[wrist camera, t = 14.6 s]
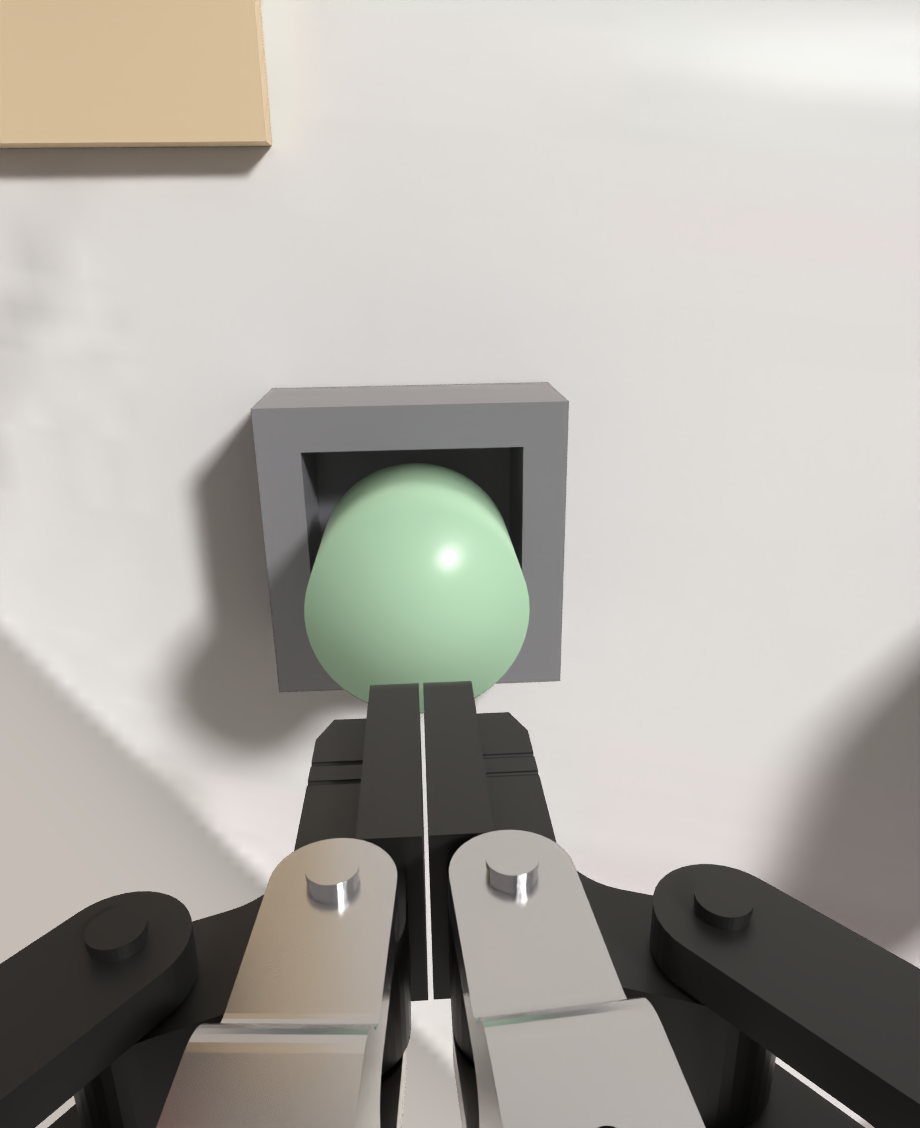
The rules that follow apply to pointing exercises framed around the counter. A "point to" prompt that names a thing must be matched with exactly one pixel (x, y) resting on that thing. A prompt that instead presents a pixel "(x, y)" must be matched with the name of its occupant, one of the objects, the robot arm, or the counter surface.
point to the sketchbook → (132, 73)
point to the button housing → (398, 436)
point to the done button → (416, 584)
